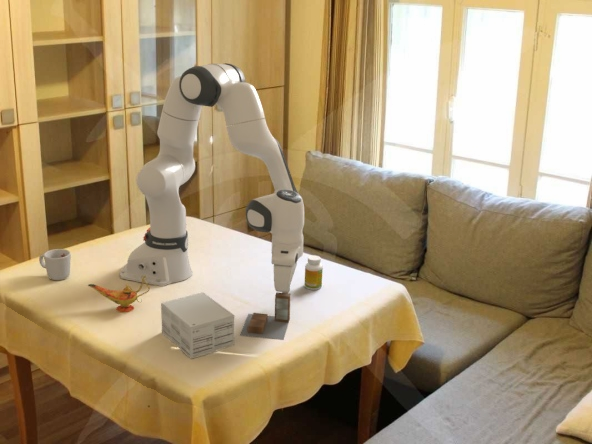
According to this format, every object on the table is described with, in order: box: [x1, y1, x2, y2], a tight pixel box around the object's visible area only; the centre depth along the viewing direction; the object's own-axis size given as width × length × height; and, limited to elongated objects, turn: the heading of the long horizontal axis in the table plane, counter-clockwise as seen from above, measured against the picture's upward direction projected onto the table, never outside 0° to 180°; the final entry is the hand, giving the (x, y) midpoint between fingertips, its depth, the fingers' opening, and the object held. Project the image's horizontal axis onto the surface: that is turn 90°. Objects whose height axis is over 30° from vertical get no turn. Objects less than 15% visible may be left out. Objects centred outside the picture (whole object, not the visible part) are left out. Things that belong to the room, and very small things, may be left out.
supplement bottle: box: [304, 255, 324, 291], centre depth 233 cm, size 5×5×10 cm
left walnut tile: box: [248, 312, 269, 334], centre depth 207 cm, size 4×2×8 cm
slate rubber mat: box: [239, 313, 290, 341], centre depth 208 cm, size 12×13×1 cm
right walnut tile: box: [274, 291, 292, 323], centre depth 210 cm, size 4×2×8 cm, turn 83°
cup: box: [39, 248, 72, 281], centre depth 233 cm, size 11×8×8 cm
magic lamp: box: [87, 275, 151, 314], centre depth 214 cm, size 7×18×11 cm, turn 85°
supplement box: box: [160, 292, 235, 360], centre depth 199 cm, size 17×13×9 cm
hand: (285, 293), depth 215 cm, fingers closed
